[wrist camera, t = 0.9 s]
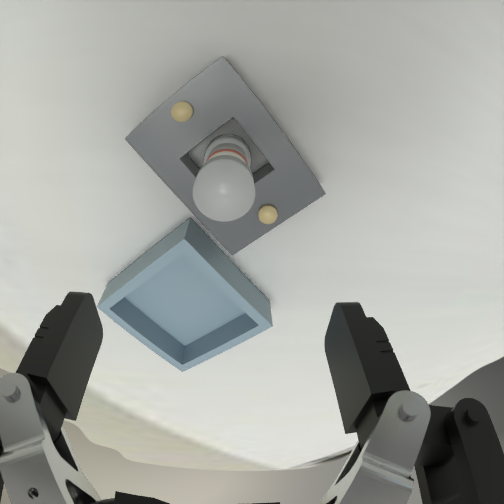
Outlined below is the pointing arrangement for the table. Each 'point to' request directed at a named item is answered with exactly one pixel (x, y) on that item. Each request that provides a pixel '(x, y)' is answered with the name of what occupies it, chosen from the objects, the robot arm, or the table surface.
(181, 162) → the fuse block
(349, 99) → the table surface
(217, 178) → the cylinder
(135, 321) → the parts tray
